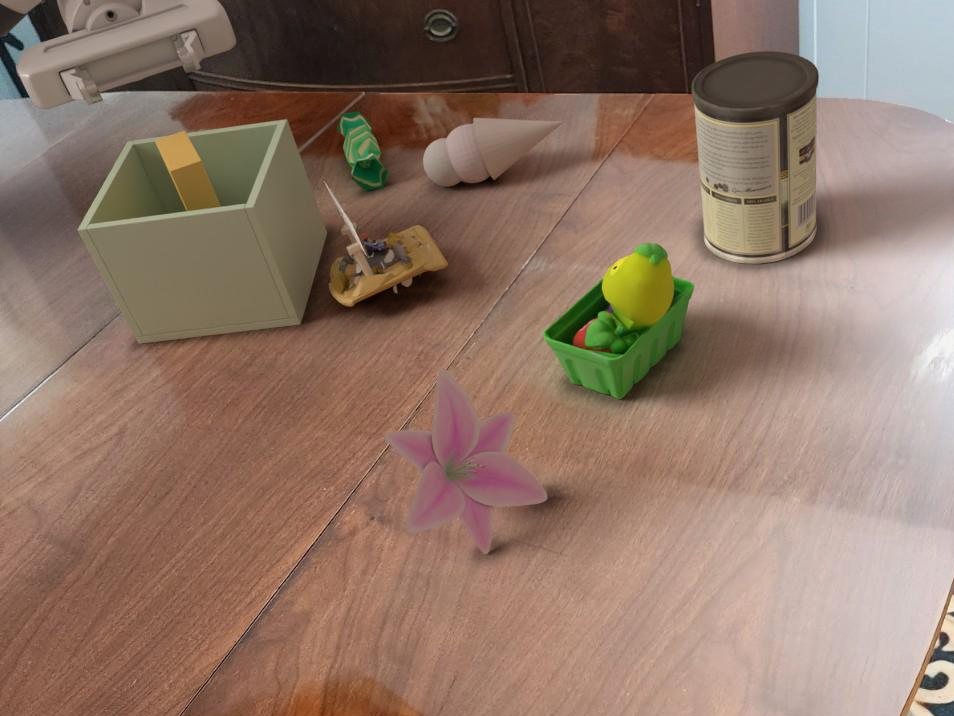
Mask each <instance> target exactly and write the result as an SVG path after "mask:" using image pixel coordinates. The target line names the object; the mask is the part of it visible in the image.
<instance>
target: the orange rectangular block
mask: <svg viewBox="0 0 954 716" xmlns="http://www.w3.org/2000/svg"><path fill="white" fill-rule="evenodd" d="M187 133H188V132H187V131H186V130H182V131H178V132H176V133H173V134H171V135H166V136H167V137H164V138H161V139H158V140H156V141H155V143H156V145H157V147H158V149H159V151H160V154H161V156H162V158H163V160H164V162H165V165H166V167H167V169H168V171H169V174H170V176H171V178H172V180H173V182H174V185H175V187H176V189H177V191H178V194H179V196H180V198H181V200H182V202H183V205H184V207H185V209H186V211H193V210H201V209H208V208H216V207H221V205H220V203H219V201H218V198H217V196H216V194H215V191H214V189H213V187H212V184H211V182H210V179H209V177H208V175H207V172H206V170H205V168H204V165H203V163H202V161H201V159H200V157H199V155H198V153H197V152H196V150H195V148H194V146H193V144H192V142H191V141H190V139H189V137H188V135H187Z"/></svg>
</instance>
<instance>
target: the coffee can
mask: <svg viewBox="0 0 954 716" xmlns="http://www.w3.org/2000/svg"><path fill="white" fill-rule="evenodd" d="M819 73H820V72H819V70H818V68H817V67H816V65H815V64H814V63H813V62H812V61H811V60H809V59H807V58H805V57H803V56H800V55H797V54H794V53H789V52H783V51H774V50H771V51H770V50H769V51H768V50H765V51H751V52H744V53H740V54H736V55H732V56H728V57H726V58H723V59H719V60H717V61H715V62H713V63H710V64H709V65H707V66H706V67H705V68H703V69H701V70H700V71H699V72H698V74H696V75H695V77H694V78H693V80H692V83H691V97H692V100H693V105H694V117H695V120H694V121H695V132H696V142H697V143H696V145H697V156H698V157H697V158H698V168H699V180H700V181H699V182H700V193H701V195H700V196H701V206H702V207H701V208H702V219H703V220H702V221H703V240H704V244H705V246H706V247H707V249H708V250H709V251H710V252H711V253H712V254H714V256H716V257H718V258H720V259H724V260H726V261H728V262H731V263H737V264H747V265H761V264H767V263H775V262H779V261H782V260H785V259H789V258H791V257H794V256H795V255H797V254H800V253H801V252H802V251H803V250H805V249H806V248H807V247H808V246H810V244H811V243H812V242H813V240H814V239H815V236H816V234H817V231H818V227H817V225H818V224H817V133H818V132H817V125H818V124H817V122H818V121H817V119H818V118H817V109H818V107H817V106H818V105H817V104H818V101H817V100H818V99H817V98H818V97H817V95H818V94H817V91H818V90H817V89H818V86H819V81H820V80H819V78H820V74H819Z"/></svg>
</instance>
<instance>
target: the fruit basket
mask: <svg viewBox="0 0 954 716" xmlns="http://www.w3.org/2000/svg"><path fill="white" fill-rule="evenodd" d="M668 257H669V254H668V252H667V250H666V249H665V248H664V247H663V246H661V244H658V243H657V242H656V243H655V242H654V243H651V242H644V243H641V244H640V245H638V246H637V247H636V248H634V250H633V253H632V254H629V255H626V256H623V257H622V258H620V259H618V260H617V261H616V262H614V263H613V264H612V265H610V267H608V268H607V271H606V272H605V273H604V276H603V277H602V278H601V279H600V280H599V281H598V282H597V283H596V284H595V285H594V286H593V287H591V288H590V289H589V290H588V291H587V292H586V293H585V294H584V295H583V296H582V297H580V298H579V299H578V300H577V301H576V302H575V303H573V305H572V306H570V307H569V308H568V309H567V310H566V311H565V312H564V313H563V314H561V316H560V317H558V319H556V320H555V321H554V322H552V323H551V324H550V325H549V326H548V327H547V328H546V329H545V330H544V331H543V333H542V337H543V339H544V340H545V342H546V343H547V345H548V347H549V348H550V349H552V351H553V353H554V355H555V356H556V359H557V361H558V362H559V363H560V365H561V367H562V369H563V371H564V372H565V374H566V376H567V378H568V379H569V382H570V383H571V384H573V385H579V386H582V387H584V388H585V389H587V390H591V391H593V392H597V393H600V394H602V395H608V396H609V395H611V397H613V398H614V399H617V400H622V399H623V398H625V397H626V396H627V394H628V393H630V391H632V389H633V387H634V385H636V384H638V383H639V382H640V381H641V380H643V378H644V377H646V375H647V374H648V373H649V371H650V369H651V368H652V367H654V366H656V365H657V364H658V363H659V362H660V361H661V360H662V359H663V358H664V357H665V356H666V354H667V352H668V351H670V350H671V349H673V348H674V347H675V346H676V345H677V344H678V343H679V342H680V341H681V339H682V333H683V330H684V325H685V322H686V321H685V320H686V315H687V311H688V308H689V303H690V300H691V299H692V296H693V292H694V289H695V284H694V283H693V282H691V281H688V280H687V279H682V278H679V277H675V276H673V274H672V266H671V263H670V261H669V259H668Z"/></svg>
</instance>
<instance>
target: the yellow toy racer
mask: <svg viewBox="0 0 954 716" xmlns="http://www.w3.org/2000/svg"><path fill="white" fill-rule="evenodd" d="M324 184H325V187H326V189H327V191H328V193H329V195H330V198H331V199H332V201H333V203H334V206H335V208H336V211H337V213H338V214H339V216H340V217H341V219H342V221H343V222H344V224H343V225H342V227H341V229H340V233H341V235H343V236H344V235H347V236H348V238H349V240H350V243H351V244H349V245H347V246H346V251H347V252H345V253H344V255H343V256H341V257H340V256H339V257H338V256H337V257H336V259H335V260H334V261H333V263H332V264H331V265H330V271H329V277H330V282H328V290H329V292H330V295H332V297H333V298H334V299H335V300H336V301H337V302H338V303H339V304H341V305H342V306H345V307H351V308H352V307H354V306H355V304H357V303H358V302H361V301H364V300H366V299H368V298H370V297H372V296H374V295H376V294H379V293H381V292H383V291H386V290H388V289H390V288H391V287H392V291H393V292H394V293H395V294H398V287H397V285H399V284H400V283H401V285H402V286H404V287H406V288H409V286H411V285H412V282H413V278H414V277H416V276H418V275H419V277H421V274H423V273H426V272H437V271H439V270H443V269H444V268H445V269H446V268H447V266H448V264H449V263H448V261H447V260H446V258H445V256H444V254H443V253H442V252H441V250H440V249H439V247H438V245H437V243H436V242H435V241H434V239H433V237H432V236H431V234H430V232H429V231H428V230H427V229H426V228H425V227H424V226H422V225H419V224H416V225H413V226H411V227H409V228H406V229H404V230H401V231H399V232H397V233H394V232H389V234H388V236H387V237H385V238H383V239H371V238H369V237H368V235H367V234H366V233H363V234H361V235H362V238H363V245H362V242H361V240H360V237H359V233H358V232H357V231H358V230H359V227H360V224H359V225H358V224H357V223H356V222H355V221H354V222H352V220H351V219H350V217H349V215H348V214H347V211H346V210H344V208H343V205H342V204H341V203H340V201H339V199H338V198H337V196H336V194H335V192H334V190H333V188H331V187H330V188H329V186H328V185H327V183H326V182H324ZM465 358H466V360H470V357H469V356H466V357H465Z"/></svg>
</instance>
